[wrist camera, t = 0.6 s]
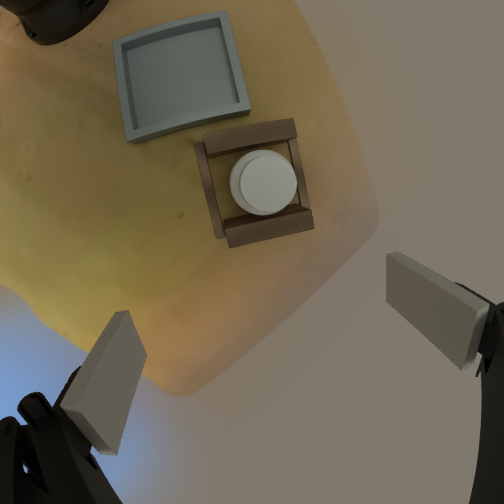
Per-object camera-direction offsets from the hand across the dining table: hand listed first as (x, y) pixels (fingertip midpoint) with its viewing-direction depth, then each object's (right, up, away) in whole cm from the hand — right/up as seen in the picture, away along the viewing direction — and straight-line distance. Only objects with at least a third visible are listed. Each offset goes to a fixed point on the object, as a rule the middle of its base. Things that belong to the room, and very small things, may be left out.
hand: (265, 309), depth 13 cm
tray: (-9, +24, +15) cm, 30 cm away
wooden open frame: (0, +11, +20) cm, 23 cm away
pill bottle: (0, +11, +20) cm, 23 cm away
